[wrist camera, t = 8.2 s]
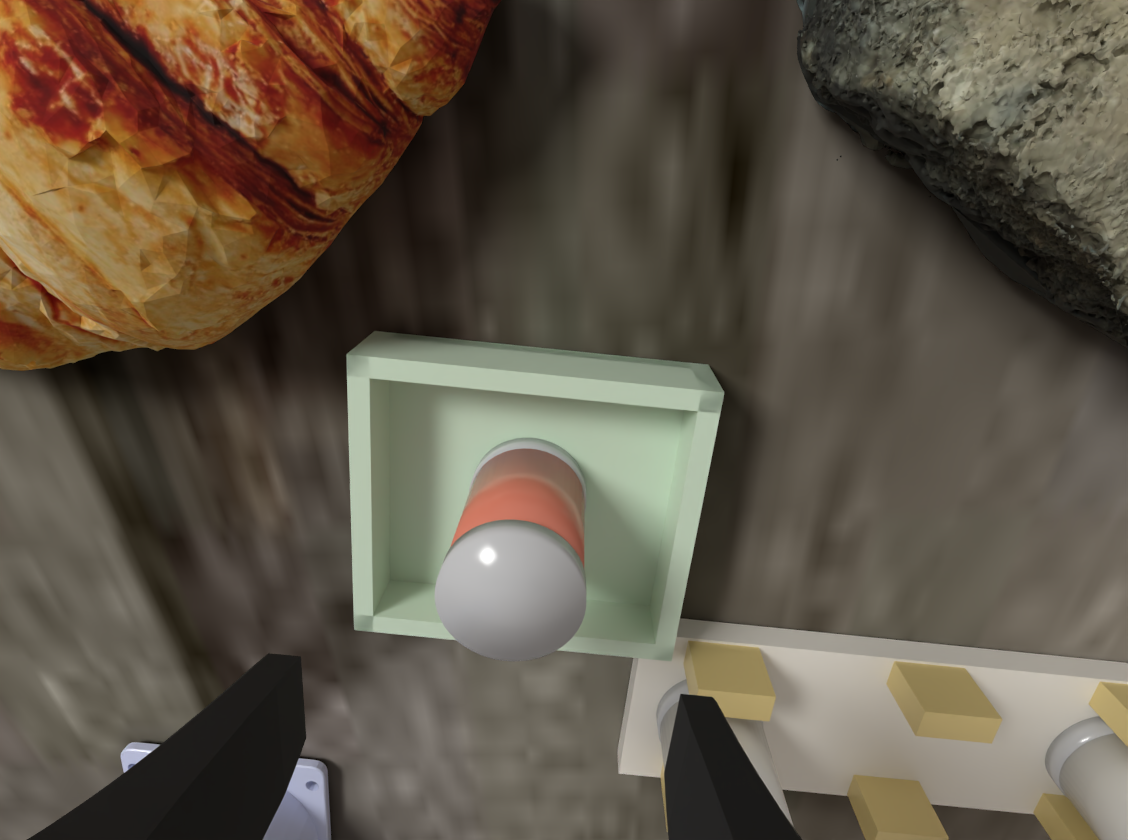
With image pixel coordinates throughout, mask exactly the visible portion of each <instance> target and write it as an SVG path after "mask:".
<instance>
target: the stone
mask: <svg viewBox="0 0 1128 840" xmlns="http://www.w3.org/2000/svg"><path fill="white" fill-rule="evenodd" d="M797 3H798V6H799V8H800V9H801V11H802V15H803V27H804V28H803V30H802V31H801V30H800V31H798V38H797V40H798V43H797V54H798V60H799V63H800V66H801V69H802V72H803V75H804V77H805V79H806V82H807V84H808V86H809V88H810V91H811V93H812V95H813V97H814V98H815V100H816V101H817V102H818V104H819V105H821V106H822V107H824V108H825V109H826V110H829V111H831V112H836V113H837V114H838V115H839V116H840V117H841V118H842V119H843V120H844V121H845V122H846V123H847V124H848V125H849V126H850V127H851V129H852V130H854V131H855V132H859V133H860V137H861V141H862V143H863V145H864V146H865V147H868V148H870V149H872V150H880V149H882V148H883V147H886V146H884V144H886V145H888V146H890V147H889V148H891V147H892V148H894V149H896V150H898V151H899V152H901V153H902V154H903V155H900V153H897V154H896V153H893V152H892V151H891V149H889V150H888V152H889V154H888V155H887V156H886V159H887V160H888V161H889V163H890V164H891V165H893V166H897V167H902V168H909V169H910V168H913V169H914V171H915V173H916V174H917V175H918V177H919V178H920V179H921V181H922V182H923V183H924V185H925V186H926V187H927V189H928V190H929V191H930V192H932V193H933V194H934V195H935V196H936V197H937V198H939V199H940V200H942V201H944V202H946V203H948V204H949V205H951V207H952V208H953V210H954V211H955V213H956V214H957V216H958V217H959V219H960V220H961V222H962V223H963V225H964V226H965V228H966V229H967V231H968V233H969V235H970V237H971V238H972V239H973V240H974V242H975V243H976V244H977V246H978V247H979V249H980V250H981V252H982V254H983V255H984V256H985V257H986V259H988V260H989V261H991V262H992V263H993V264H994V265H995V266H996V267H998V268H999V269H1000V270H1001V271H1002V272H1003V273H1004V274H1006V275H1007V276H1008V277H1009V278H1011V279H1012V280H1014V281H1015V282H1018V283H1020V284H1022V285H1024V286H1025V287H1027V288H1029V289H1030V290H1032V291H1034V292H1035V293H1037V294H1039V295H1040V296H1042V297H1043V298H1045V299H1047V300H1048V301H1050V302H1051V303H1052V304H1055V305H1056V306H1058V307H1059V308H1061V309H1062V310H1063V311H1065V312H1067V313H1069V314H1071V315H1073V316H1075V317H1076V318H1078V319H1080V320H1081V321H1082V322H1085V323H1086V324H1088V325H1090V326H1091V327H1093V328H1095V329H1096V330H1098V331H1100V332H1101V333H1103V334H1105V335H1106V336H1108V337H1110V338H1111V339H1113V340H1115V341H1116V342H1118V343H1120V344H1121V345H1123V346H1125V347H1126V348H1128V0H797ZM887 148H888V147H887ZM840 157H841V156H840ZM837 160H838V159H837ZM930 197H931V196H930Z"/></svg>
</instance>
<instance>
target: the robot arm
mask: <svg viewBox="0 0 1128 840" xmlns="http://www.w3.org/2000/svg"><path fill="white" fill-rule="evenodd" d="M305 740H306V729H305V714H304V699H303V683H302V668H301V657H300V656H290V655H279V654H267V655H266V656H265V657H263V658H262V659H261V660H260V661H259V662H257V663H256V664H255V665H254V666H253V667H252V668H251V669H249V670H248V671H247V672H246V673H245V674H244V675H243V676H241V677H240V678H239V679H238V680H237V681H236V682H235V683H233V684H232V685H231V686H230V687H229V688H228V689H227V690H225V691H224V692H223V693H222V694H221V695H220V696H218V697H217V698H216V699H215V700H214V701H213V702H211V703H210V704H209V705H208V706H207V707H206V708H204V709H203V710H202V711H201V712H200V713H199V714H197V715H196V716H195V717H194V718H192V719H191V720H190V721H189V722H188V723H186V724H185V725H184V726H183V727H182V728H180V729H179V730H178V731H177V732H176V733H174V734H173V735H172V736H171V737H170V738H168V739H167V740H166V741H165V742H163V743H162V744H161V745H160V744H150V743H140V742H133V743H130V744H128V745H127V746H126V747H125V749H124V750H123V751H122V753H121V761H122V765H123V770H124V773H123V774H122V775H121V776H119V777H118V778H117V779H116V780H114V781H113V782H111V783H110V784H109V785H107V786H106V787H105V788H103V789H102V790H100V791H99V792H98V793H96V794H95V795H93V796H92V797H91V798H89V799H88V800H86V801H85V802H83V803H82V804H81V805H79V806H78V807H76V808H75V809H73V810H72V811H70V812H69V813H67V814H66V815H64V816H63V817H61V818H60V819H58V820H57V821H56V822H54V823H53V824H51V825H50V826H48V827H46V828H45V829H43V830H42V831H40V832H39V833H37V834H35V835H34V836H32V837H31V838H29V839H27V840H331V825H330V806H329V787H328V770H327V767H326V766H325V764H324V763H322V762H321V761H318V760H313V759H303V758H299V756H300V754H301V751H302V748H303V745H304V742H305ZM664 781H665V798H666V813H667V827H668V835H669V840H802V839H801V837H800V836H799V835H798V833H797V832H796V830H795V829H794V828H793V826H792V825H791V823H790V822H789V820H788V819H787V817H786V816H785V814H784V813H783V811H782V810H781V809H780V807H779V805H778V804H777V802H776V801H775V799H774V798H773V796H772V795H771V793H770V792H769V790H768V788H767V787H766V785H765V784H764V782H763V781H762V779H761V778H760V776H759V774H758V773H757V771H756V770H755V768H754V766H753V765H752V763H751V761H750V760H749V758H748V756H747V755H746V753H745V751H744V750H743V748H742V746H741V744H740V743H739V741H738V739H737V738H736V736H735V734H734V732H733V730H732V729H731V727H730V725H729V723H728V722H727V720H726V718H725V716H724V714H723V712H722V711H721V709H720V707H719V705H718V703H717V702H716V700H715V699H714V698H713V697H709V696H699V695H689V694H680V698H679V703H678V708H677V713H676V718H675V722H674V727H673V732H672V737H671V742H670V747H669V751H668V756H667V761H666V766H665V771H664Z"/></svg>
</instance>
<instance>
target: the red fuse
mask: <svg viewBox="0 0 1128 840" xmlns="http://www.w3.org/2000/svg"><path fill="white" fill-rule="evenodd" d="M585 509H586V482H585V478H584V474H583V472H582V470H581V468H580V466H579V464H578V463H577V461H576V460H575V459H574V458H573V457H572V456H571V455H570V454H569V453H568V452H567V451H566V450H564V449H563V448H562V447H560V446H558V445H556V444H554V443H552V442H549V441H547V440H543V439H538V438H516V439H512V440H508V441H505V442H503V443H501V444H499V445H497V446H495V447H494V448H492V449H491V450H490V451H489V452H488V453H486V454H485V455H484V457H483V458H482V459H481V460H480V462H479V464H478V465H477V467H476V470H475V472H474V475H473V478H472V481H471V484H470V488H469V495H468V497H467V500H466V503H465V506H464V509H463V512H462V515H461V518H460V521H459V523H458V526H457V529H456V532H455V535H454V538H453V541H452V544H451V547H450V549H449V550H448V552H447V554H446V556H445V558H444V561H443V563H442V566H441V569H440V572H439V575H438V578H437V581H436V585H435V605H436V609H437V612H438V615H439V617H440V620H441V621H442V623H443V625H444V627H445V628H446V629H447V630H448V632H449V633H450V634H451V635H452V636H453V637H454V638H455V639H456V640H457V641H458V642H459V643H461V644H462V645H463V646H465V647H466V648H468V649H470V650H471V651H473V652H476V653H478V654H480V655H483V656H485V657H488V658H492V659H497V660H503V661H527V660H532V659H537V658H540V657H543V656H546V655H548V654H550V653H553V652H554V651H556V650H558V649H559V648H561V647H562V646H564V645H565V644H566V643H567V642H568V641H569V640H570V639H571V638H572V637H573V636H574V635H575V633H576V632H577V631H578V629H579V627H580V626H581V624H582V621H583V618H584V616H585V611H586V574H585V570H584V536H585Z"/></svg>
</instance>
